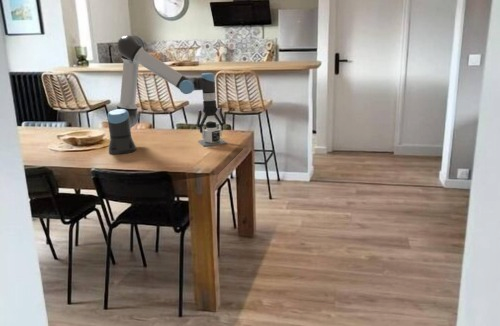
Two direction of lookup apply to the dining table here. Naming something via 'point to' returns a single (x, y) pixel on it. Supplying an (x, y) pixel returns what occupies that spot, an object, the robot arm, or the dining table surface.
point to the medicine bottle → (211, 132)
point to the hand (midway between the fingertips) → (211, 137)
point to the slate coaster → (212, 143)
